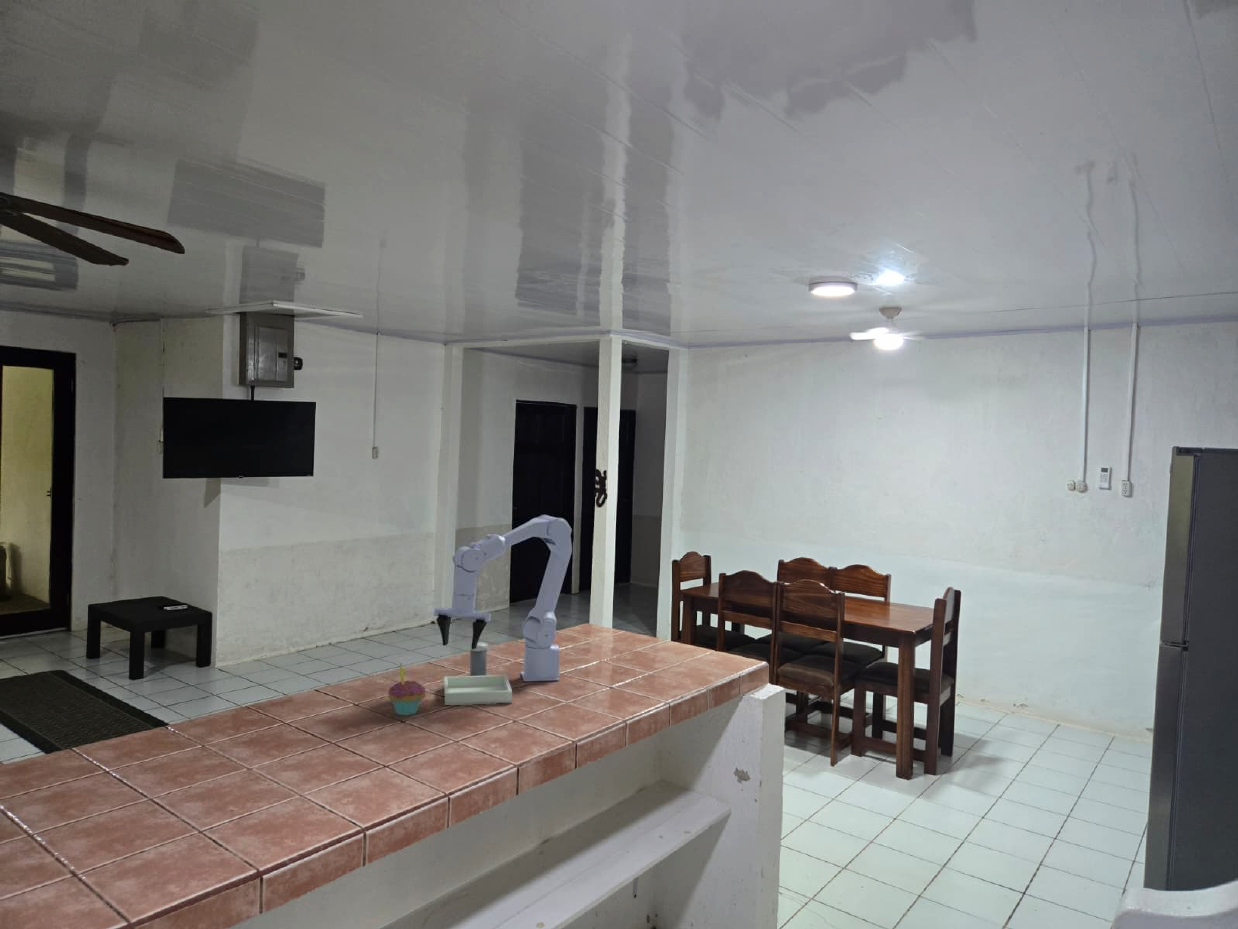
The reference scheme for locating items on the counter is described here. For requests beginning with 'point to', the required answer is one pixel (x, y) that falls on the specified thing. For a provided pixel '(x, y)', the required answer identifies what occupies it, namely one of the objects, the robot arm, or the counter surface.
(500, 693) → the tray
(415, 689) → the cupcake
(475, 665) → the cylinder
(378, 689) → the counter surface
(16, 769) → the counter surface
